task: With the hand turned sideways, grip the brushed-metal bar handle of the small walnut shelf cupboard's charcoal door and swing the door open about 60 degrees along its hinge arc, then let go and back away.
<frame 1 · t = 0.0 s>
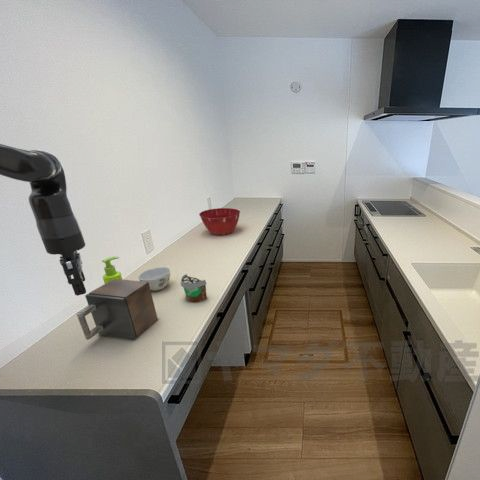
hand: (81, 287, 73), 27 cm above the table, tool pointing down, fingers open, 8 cm apart
soap dispenser: (121, 301, 113), on the table
cupboard: (131, 326, 97), on the table
mixing bowl: (222, 232, 198), on the table
food container: (193, 300, 114), on the table
door: (104, 322, 87), point 9 cm above the table, hinge at 0.0°
teacup: (156, 289, 122), on the table
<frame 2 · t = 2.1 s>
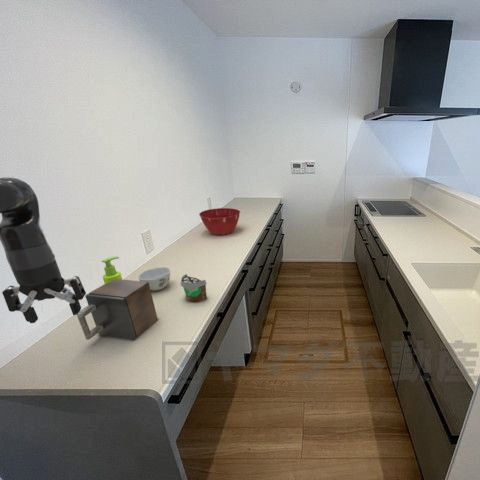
hand: (56, 317, 69), 21 cm above the table, tool pointing down, fingers open, 8 cm apart
nothing on the table moved.
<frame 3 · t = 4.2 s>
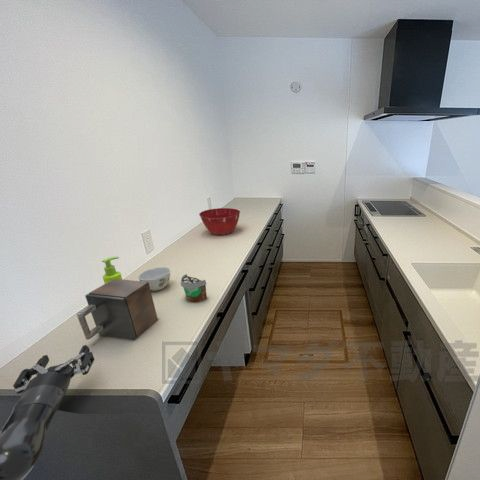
hand: (66, 352, 74), 9 cm above the table, tool horizontal, fingers open, 8 cm apart
nothing on the table moved.
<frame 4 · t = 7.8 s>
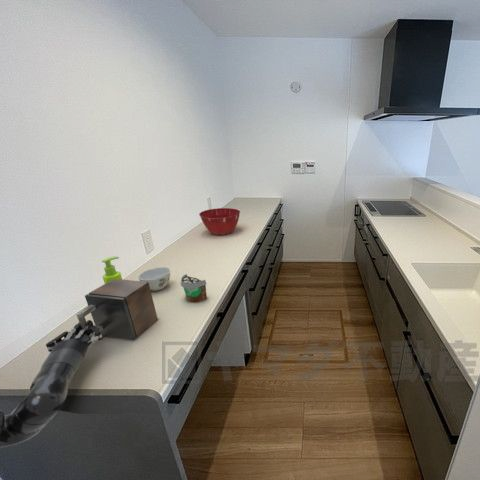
hand: (85, 323, 86), 8 cm above the table, tool horizontal, fingers closed on door
door: (104, 322, 87), point 9 cm above the table, hinge at 0.6°, touching gripper
everything else where it was.
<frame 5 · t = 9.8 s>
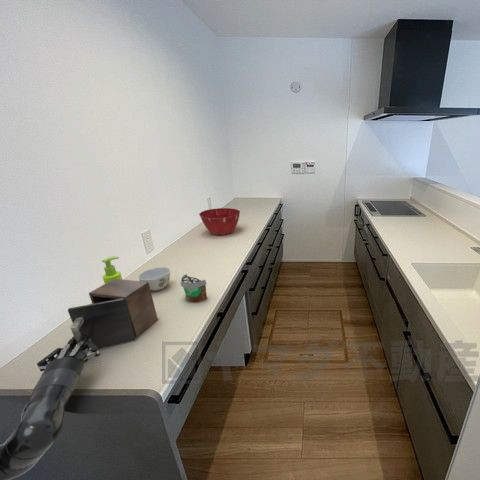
hand: (80, 337, 80), 9 cm above the table, tool horizontal, fingers closed on door
door: (101, 330, 83), point 9 cm above the table, hinge at 33.4°, touching gripper
everything else where it was.
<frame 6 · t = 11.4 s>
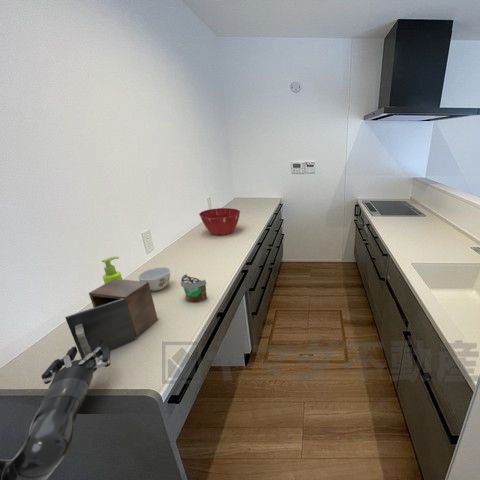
hand: (88, 345, 77), 8 cm above the table, tool horizontal, fingers open, 5 cm apart
door: (105, 333, 82), point 8 cm above the table, hinge at 53.8°
everything else where it was.
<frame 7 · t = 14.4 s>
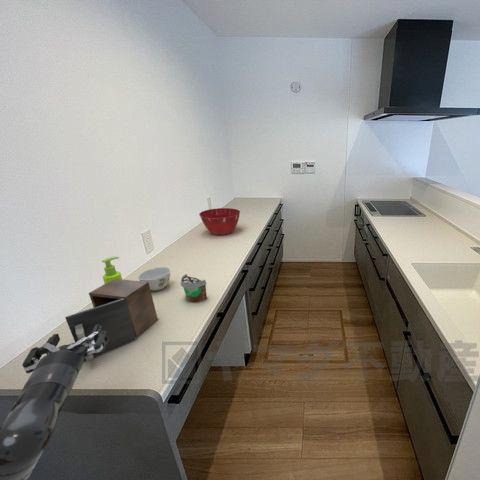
hand: (78, 331, 69), 18 cm above the table, tool horizontal, fingers open, 8 cm apart
nothing on the table moved.
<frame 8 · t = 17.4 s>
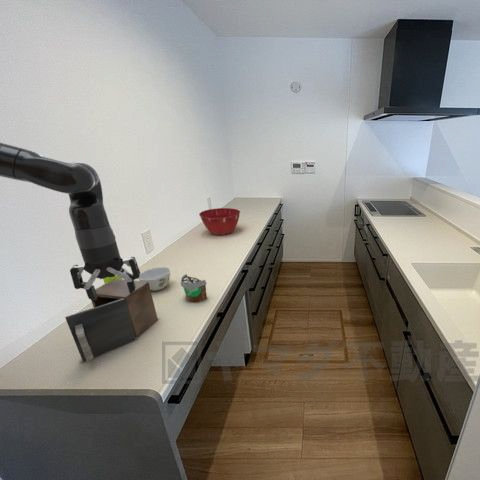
hand: (114, 295, 74), 24 cm above the table, tool pointing down, fingers open, 8 cm apart
nothing on the table moved.
at the end: door at +54° (first picture: +0°); the gripper is holding nothing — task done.
